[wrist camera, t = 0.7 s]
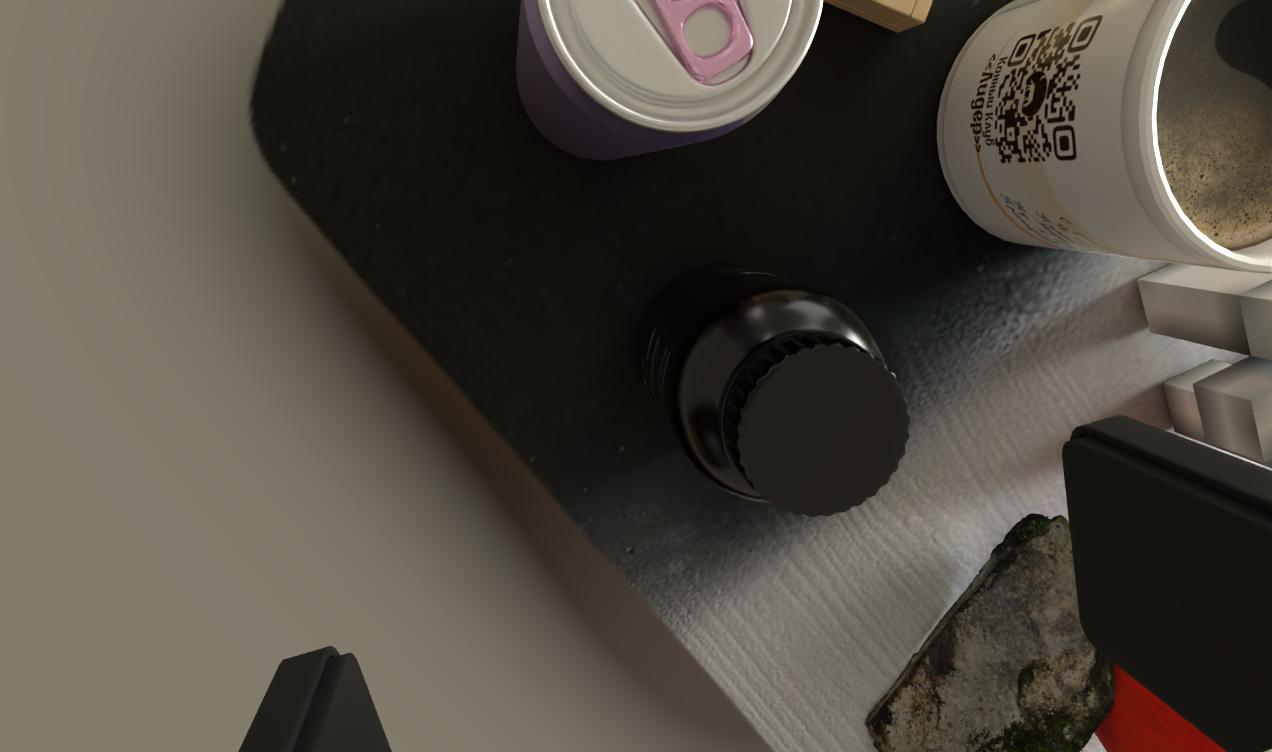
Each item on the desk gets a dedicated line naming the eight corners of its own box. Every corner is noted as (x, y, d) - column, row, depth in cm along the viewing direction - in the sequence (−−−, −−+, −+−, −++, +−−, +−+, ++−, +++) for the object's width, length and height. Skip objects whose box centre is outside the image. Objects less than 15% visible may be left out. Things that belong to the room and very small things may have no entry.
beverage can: (571, 191, 31) (628, 200, 16) (483, 41, 29) (459, -98, 15) (707, 108, 31) (886, 43, 16) (627, -46, 29) (746, -270, 15)
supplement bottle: (780, 240, 32) (933, 272, 21) (813, 401, 34) (970, 513, 22) (612, 286, 32) (673, 346, 20) (654, 447, 33) (733, 588, 22)
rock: (1145, 529, 34) (912, 495, 41) (1132, 524, 32) (888, 489, 39) (1104, 970, 32) (866, 860, 39) (1087, 998, 30) (837, 876, 37)
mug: (871, 131, 32) (1055, 105, 21) (1074, -131, 31) (1375, -297, 20) (1048, 292, 35) (1291, 342, 24) (1240, 56, 33) (1583, -2, 23)
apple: (1085, 514, 37) (1311, 644, 27) (1221, 584, 39) (1480, 730, 29) (984, 677, 38) (1162, 862, 28) (1121, 736, 40) (1335, 929, 30)
